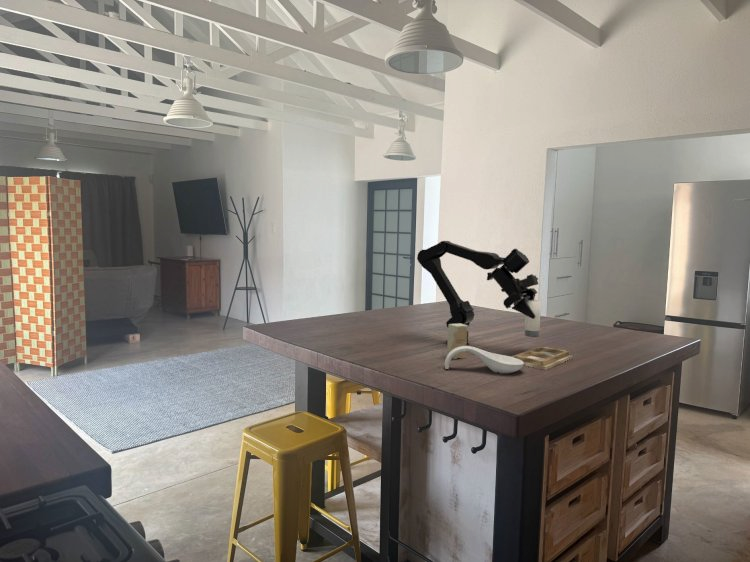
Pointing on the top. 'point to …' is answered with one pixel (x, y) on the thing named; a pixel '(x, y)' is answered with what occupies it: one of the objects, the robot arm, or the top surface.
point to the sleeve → (533, 324)
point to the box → (457, 338)
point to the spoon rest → (489, 359)
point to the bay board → (543, 357)
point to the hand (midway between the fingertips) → (536, 317)
